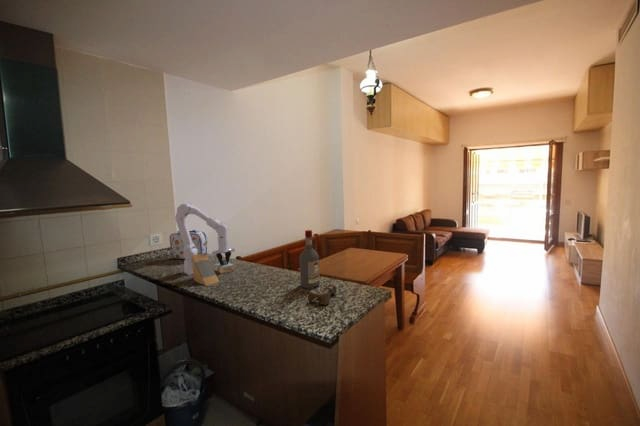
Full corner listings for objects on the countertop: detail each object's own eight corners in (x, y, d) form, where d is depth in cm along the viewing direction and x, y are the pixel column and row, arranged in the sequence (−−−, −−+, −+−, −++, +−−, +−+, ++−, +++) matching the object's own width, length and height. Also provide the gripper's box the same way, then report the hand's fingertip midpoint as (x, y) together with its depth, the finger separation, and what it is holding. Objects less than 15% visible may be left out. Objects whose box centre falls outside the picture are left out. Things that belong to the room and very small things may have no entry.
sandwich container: (205, 286, 171) (203, 259, 169) (193, 280, 181) (191, 255, 179) (220, 282, 177) (218, 256, 175) (207, 276, 187) (205, 252, 186)
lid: (215, 265, 199) (214, 260, 198) (226, 263, 204) (226, 258, 204) (221, 268, 191) (221, 263, 191) (233, 266, 197) (233, 261, 196)
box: (215, 270, 199) (215, 265, 199) (227, 267, 204) (226, 263, 204) (222, 273, 192) (221, 268, 191) (234, 271, 197) (233, 266, 197)
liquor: (298, 286, 167) (296, 231, 163) (308, 281, 174) (307, 228, 170) (311, 289, 161) (309, 232, 158) (321, 284, 168) (320, 230, 165)
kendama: (341, 296, 153) (321, 310, 136) (324, 293, 158) (302, 306, 141) (341, 284, 153) (320, 296, 136) (324, 281, 158) (302, 293, 140)
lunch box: (211, 257, 234) (209, 228, 232) (203, 260, 224) (201, 230, 222) (178, 256, 239) (175, 228, 236) (169, 260, 229) (167, 230, 226)
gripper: (214, 246, 188) (215, 267, 190) (236, 242, 198) (237, 263, 199) (209, 244, 193) (211, 265, 195) (231, 240, 203) (232, 261, 204)
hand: (224, 264), depth 197 cm, fingers open, 3 cm apart
